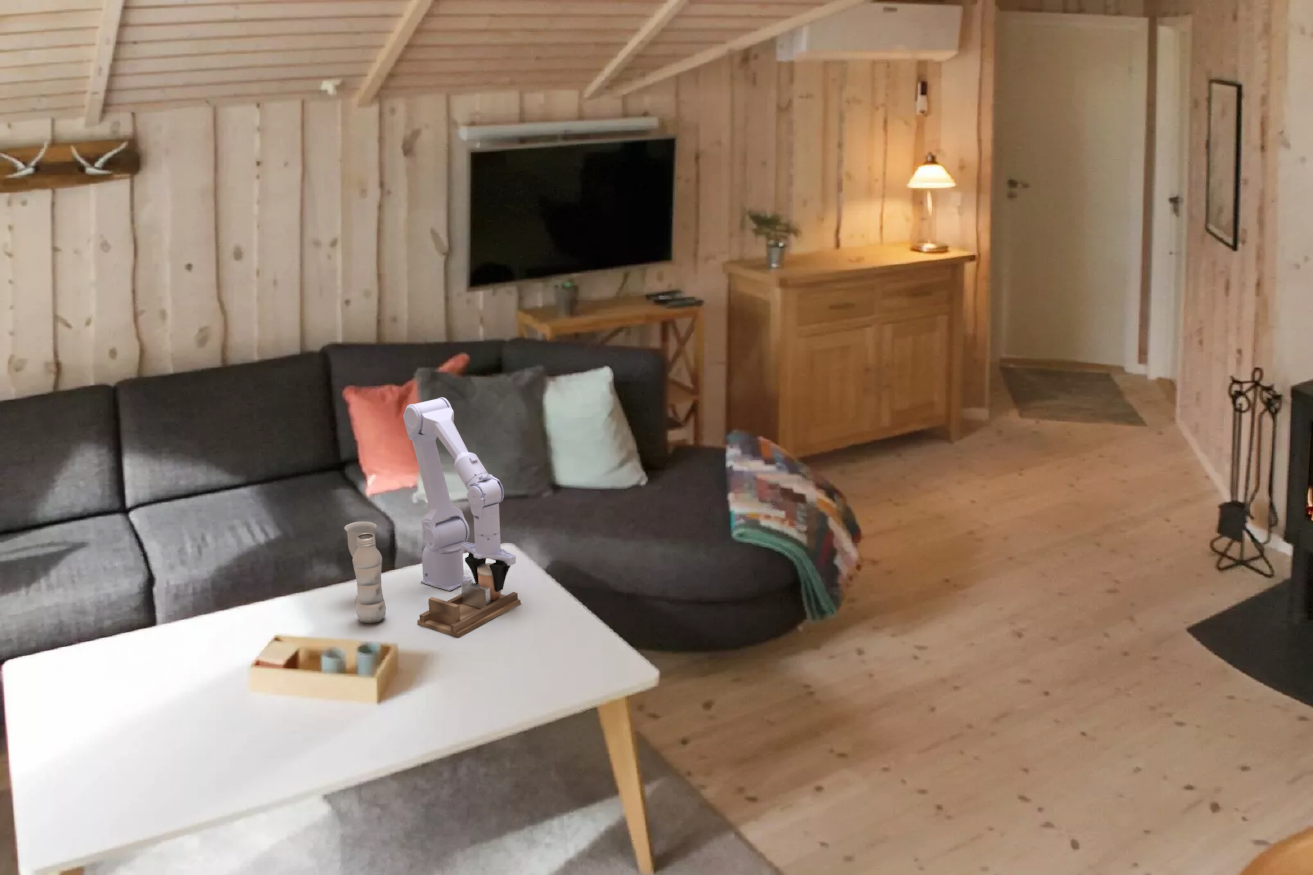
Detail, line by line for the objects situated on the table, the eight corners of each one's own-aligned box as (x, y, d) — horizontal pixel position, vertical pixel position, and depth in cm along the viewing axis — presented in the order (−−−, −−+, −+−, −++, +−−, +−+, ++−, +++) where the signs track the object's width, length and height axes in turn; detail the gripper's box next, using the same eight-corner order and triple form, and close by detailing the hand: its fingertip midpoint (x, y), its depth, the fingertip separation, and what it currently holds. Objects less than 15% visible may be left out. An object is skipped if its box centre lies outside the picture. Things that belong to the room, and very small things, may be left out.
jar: (473, 597, 300) (472, 568, 298) (488, 589, 305) (487, 561, 303) (491, 602, 298) (489, 573, 296) (506, 594, 302) (505, 566, 300)
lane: (417, 624, 291) (415, 599, 289) (480, 592, 308) (479, 568, 306) (458, 637, 285) (456, 612, 283) (520, 603, 301) (519, 579, 300)
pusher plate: (462, 603, 299) (461, 582, 297) (466, 600, 300) (465, 580, 299) (486, 610, 295) (485, 589, 294) (490, 608, 296) (489, 587, 295)
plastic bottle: (390, 614, 296) (384, 531, 290) (381, 627, 290) (375, 542, 284) (362, 613, 297) (356, 530, 291) (352, 626, 290) (346, 541, 284)
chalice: (344, 604, 302) (338, 530, 296) (359, 592, 308) (353, 520, 302) (373, 607, 300) (367, 533, 294) (387, 596, 306) (382, 523, 300)
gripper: (450, 530, 297) (453, 586, 301) (500, 544, 289) (502, 600, 294) (471, 521, 303) (474, 576, 307) (520, 534, 295) (522, 590, 299)
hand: (489, 587), depth 301 cm, fingers closed on jar, 5 cm apart
